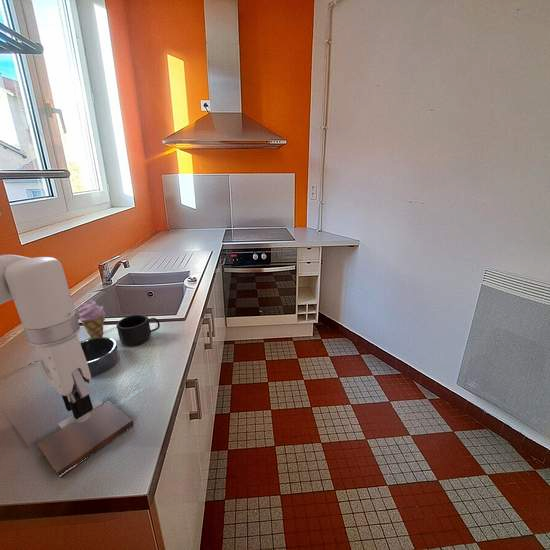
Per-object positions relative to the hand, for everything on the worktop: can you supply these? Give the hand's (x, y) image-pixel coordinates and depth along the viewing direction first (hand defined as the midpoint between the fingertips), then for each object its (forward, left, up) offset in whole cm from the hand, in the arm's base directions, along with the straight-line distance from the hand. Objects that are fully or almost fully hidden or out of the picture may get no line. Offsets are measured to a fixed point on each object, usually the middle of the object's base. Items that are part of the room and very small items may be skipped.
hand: (80, 409), depth 59 cm
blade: (0, 0, -2) cm, 2 cm away
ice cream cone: (+18, +33, -7) cm, 38 cm away
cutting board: (0, 0, -7) cm, 7 cm away
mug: (+27, +25, -7) cm, 38 cm away
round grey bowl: (+12, +24, -7) cm, 28 cm away
